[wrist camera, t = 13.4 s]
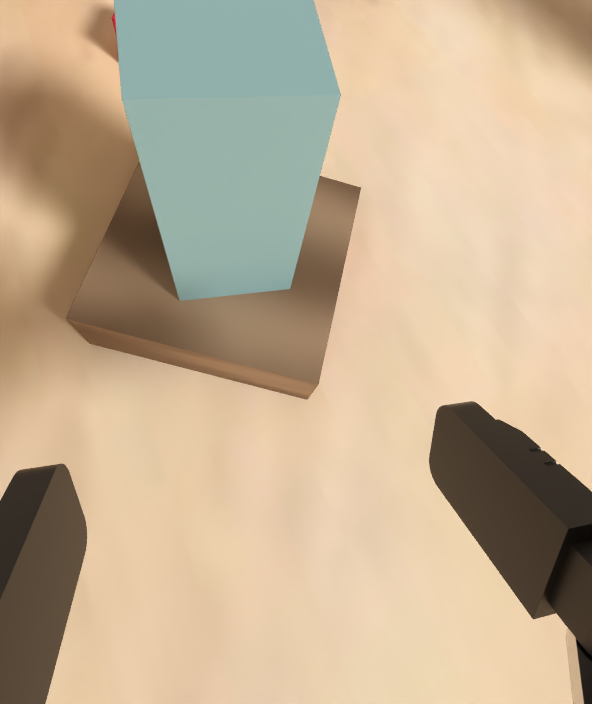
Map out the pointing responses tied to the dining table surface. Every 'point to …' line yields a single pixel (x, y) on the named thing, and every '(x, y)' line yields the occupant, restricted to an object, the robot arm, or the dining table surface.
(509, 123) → the dining table surface
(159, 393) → the dining table surface
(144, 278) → the walnut base plate
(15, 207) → the dining table surface
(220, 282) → the teal pillar block
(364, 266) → the dining table surface
